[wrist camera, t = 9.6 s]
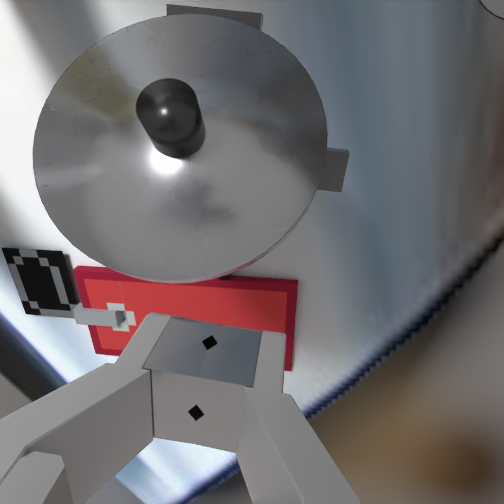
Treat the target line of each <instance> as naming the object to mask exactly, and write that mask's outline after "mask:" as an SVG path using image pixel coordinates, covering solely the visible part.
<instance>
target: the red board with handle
mask: <svg viewBox="0 0 504 504" xmlns="http://www.w3.org/2000/svg"><path fill="white" fill-rule="evenodd" d="M2 251H3V253H4V256H5V259H6V262H7V264H8V267H9V270H10V272H11V275H12V278H13V280H14V283H15V286H16V288H17V291H18V294H19V296H20V299H21V302H22V305H23V307H24V310H25V313H26V314H31V315H44V316H56V317H69V318H75V320H76V324H84V325H88V327H89V331H90V335H91V338H92V342H93V345H94V349H95V353H96V354H104V355H115V356H120V355H121V353H122V352H123V350H124V349H125V347H126V346H127V344H128V343H129V341H130V340H131V338H132V336H133V335H134V333H135V332H136V330H137V329H138V327H139V326H140V324H141V323H142V321H143V320H144V318H145V317H146V315H148V314H149V313H151V312H155V313H161V314H166V315H172V316H179V317H184V318H190V319H195V320H200V321H206V322H211V323H216V324H222V325H228V326H234V327H241V328H247V329H253V330H260V331H262V332H263V330H264V331H271V332H279V333H285V334H286V352H285V367H284V370H286V371H291V368H292V355H293V341H294V327H295V314H296V300H297V287H298V280H287V279H273V278H259V277H245V276H231V274H228V275H225V276H222V277H218V278H215V279H212V280H206V281H200V282H195V283H178V284H170V283H158V282H151V281H146V280H142V279H137V278H133V277H131V276H128V275H125V274H123V273H120V272H117V271H115V270H113V269H111V268H108V267H92V266H77V267H76V268H75V269H74V270H73V273H74V276H75V280H76V284H77V287H78V291H79V295H80V298H81V302H79V303H78V304H77V302H76V298H75V295H74V291H73V288H72V284H71V281H70V277H69V274H68V270H67V267H66V263H65V260H64V256H63V253H62V251H50V250H33V249H16V248H2ZM122 311H125V313H126V317H127V319H123V315H122ZM261 336H262V335H261ZM260 343H261V342H260Z"/></svg>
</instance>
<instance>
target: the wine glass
mask: <svg viewBox="0 0 504 504" xmlns="http://www.w3.org/2000/svg"><path fill="white" fill-rule="evenodd" d="M480 2H481V3H482V5H483V6H484V7H485V8H486V9H487V10H488V11H489V12H491V13H492V14H494V15H495V16H497V17H500V18H502V19H504V0H480Z"/></svg>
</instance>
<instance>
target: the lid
mask: <svg viewBox="0 0 504 504" xmlns="http://www.w3.org/2000/svg"><path fill="white" fill-rule="evenodd" d="M326 152H327V126H326V117H325V113H324V109H323V105H322V101H321V98H320V96H319V94H318V91H317V89H316V86H315V84H314V83H313V81H312V79H311V78H310V76H309V74H308V73H307V71H306V70H305V68H304V67H303V66H302V65H301V63H300V62H299V61H298V60H297V58H296V57H295V56H294V55H293V54H291V53H290V52H289V51H288V50H287V49H286V48H285V47H284V46H283V45H281V44H280V43H279V42H277V41H276V40H275V39H273V38H272V37H270V36H269V35H267V34H265V33H263V32H261V31H260V30H258V29H256V28H254V27H251V26H249V25H246V24H244V23H241V22H238V21H234V20H231V19H227V18H223V17H217V16H211V15H200V14H181V15H169V16H163V17H157V18H152V19H149V20H145V21H142V22H138V23H135V24H133V25H130V26H128V27H125V28H123V29H120V30H118V31H116V32H115V33H113V34H111V35H109V36H107V37H105V38H104V39H102V40H101V41H99V42H98V43H96V44H95V45H93V46H92V47H90V48H89V49H88V50H87V51H85V52H84V53H83V54H82V55H81V56H79V57H78V58H77V59H76V60H75V61H74V62H73V63H72V64H71V65H70V66H69V68H68V69H67V70H66V71H65V72H64V73H63V75H62V76H61V77H60V79H59V80H58V81H57V83H56V84H55V85H54V87H53V89H52V90H51V92H50V94H49V96H48V98H47V99H46V101H45V104H44V106H43V108H42V111H41V113H40V116H39V119H38V123H37V127H36V130H35V135H34V144H33V170H34V176H35V182H36V186H37V189H38V192H39V195H40V198H41V201H42V203H43V205H44V207H45V209H46V211H47V213H48V215H49V217H50V218H51V220H52V221H53V223H54V224H55V225H56V227H57V228H58V229H59V231H60V232H61V233H62V234H63V235H64V236H65V237H66V238H67V239H68V240H69V241H70V242H71V243H72V244H73V245H74V246H75V247H76V248H78V249H79V250H80V251H82V252H83V253H84V254H86V255H87V256H88V257H90V258H92V259H93V260H95V261H97V262H99V263H101V264H103V265H104V266H106V267H108V268H111V269H113V270H115V271H117V272H120V273H123V274H125V275H128V276H131V277H133V278H137V279H142V280H146V281H151V282H158V283H170V284H178V283H195V282H200V281H206V280H212V279H215V278H218V277H222V276H225V275H228V274H231V273H234V272H236V271H238V270H240V269H242V268H244V267H247V266H249V265H251V264H252V263H254V262H255V261H257V260H259V259H260V258H262V257H263V256H265V255H267V254H268V253H269V252H270V251H271V250H273V249H274V248H275V247H276V246H278V245H279V244H280V243H281V242H282V241H283V240H284V239H285V238H286V237H287V236H288V235H289V234H290V233H291V232H292V230H293V229H294V228H295V227H296V226H297V224H298V223H299V221H300V220H301V218H302V217H303V216H304V214H305V213H306V211H307V209H308V207H309V205H310V203H311V201H312V199H313V197H314V195H315V192H316V189H317V186H318V183H319V180H320V177H321V175H322V172H323V168H324V163H325V158H326Z"/></svg>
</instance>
